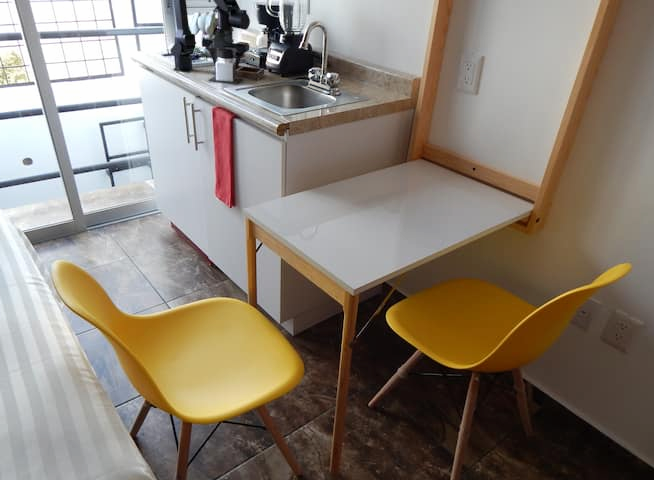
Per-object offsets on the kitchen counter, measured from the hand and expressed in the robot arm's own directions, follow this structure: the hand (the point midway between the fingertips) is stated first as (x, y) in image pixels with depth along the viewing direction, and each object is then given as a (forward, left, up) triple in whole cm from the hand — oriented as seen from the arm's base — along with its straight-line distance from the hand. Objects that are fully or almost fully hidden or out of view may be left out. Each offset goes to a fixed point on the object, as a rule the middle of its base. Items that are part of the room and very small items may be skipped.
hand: (226, 67), depth 202 cm
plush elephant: (-24, +46, -6) cm, 52 cm away
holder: (+2, +12, -5) cm, 13 cm away
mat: (0, 0, -5) cm, 5 cm away
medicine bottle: (0, 0, -5) cm, 5 cm away
